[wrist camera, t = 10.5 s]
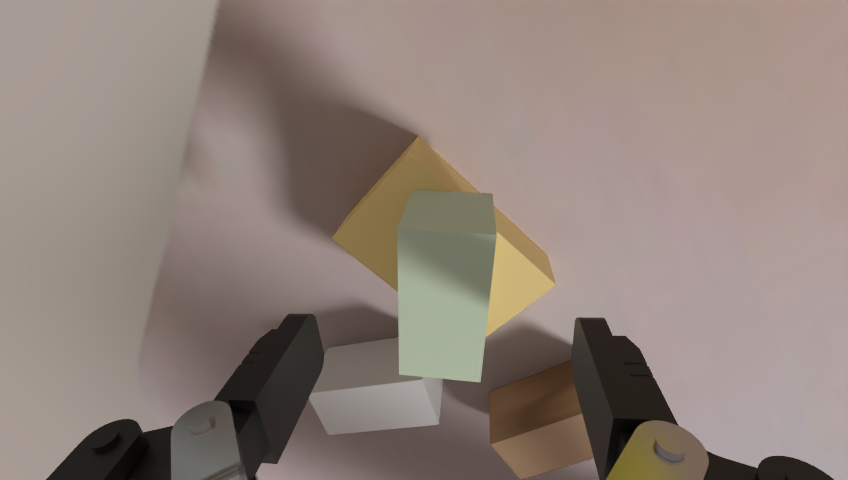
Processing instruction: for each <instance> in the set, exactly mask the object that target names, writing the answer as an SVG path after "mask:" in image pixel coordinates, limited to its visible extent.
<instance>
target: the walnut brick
mask: <svg viewBox="0 0 848 480" xmlns="http://www.w3.org/2000/svg"><path fill="white" fill-rule="evenodd" d="M489 412H490V444H491V446H492V447H493V448H494V449H495V451H496V452H497V453H498V454H499V455H500V456H501V458H502V459H503V460H504V461H505V462H506V463H507V465H508V466H509V467H510V468H511V469H512V470H513V472H514V473H515V474H516V475H517V476H518V478H519V479H520V480H521V479H525V478H528V477H531V476H535V475H538V474H542V473H545V472H548V471H552V470H555V469H558V468H562V467H565V466H568V465H572V464H575V463H578V462H582V461H585V460H589V459H592V458H594V456H593V452H592V449H591V445H590V441H589V437H588V434H587V430H586V426H585V422H584V419H583V415H582V411H581V407H580V404H579V400H578V396H577V392H576V389H575V385H574V381H573V376H572V366H571V360H569V361H567V362H564V363H562V364H559V365H557V366H554V367H552V368H549V369H546V370H544V371H541V372H539V373H536V374H534V375H531V376H529V377H526V378H524V379H521V380H518V381H516V382H513V383H511V384H508V385H506V386H503V387H501V388H498V389H495V390H493V391H490V392H489Z"/></svg>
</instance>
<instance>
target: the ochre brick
mask: <svg viewBox="0 0 848 480" xmlns="http://www.w3.org/2000/svg"><path fill="white" fill-rule="evenodd" d="M412 189H418V190H436V191H455V192H473V193H480V192H479V191H478V190H476V189H475V188H474V187H473V186H472V185H471V184H470V183H469V182H468V181H467V180H466V179H465V178H463V177H462V176H461V175H460V174H459V173H458V172H457V171H456V170H455V169H454V168H453V167H452V166H450V165H449V164H448V163H447V162H446V161H445V160H444V159H443V158H442V157H441V156H440V155H439V154H437V153H436V152H435V151H434V150H433V149H432V148H431V147H430V146H429V145H428V144H427V143H426V142H424V141H423V140H422V139H421V138H420V137H419V136H417V138H416V139H415V140H414V141H413V142H412V143H411V144H410V145H409V147H408V148H407V149H406V150H405V151H404V152H403V153H402V154H401V156H400V157H399V158H398V159H397V160H396V161H395V162H394V163H393V165H392V166H391V167H390V168H389V169H388V170H387V171H386V172H385V174H384V175H383V176H382V177H381V178H380V179H379V180H378V181H377V183H376V184H375V185H374V186H373V187H372V188H371V189H370V190H369V192H368V193H367V194H366V195H365V196H364V197H363V198H362V199H361V201H360V202H359V203H358V204H357V205H356V206H355V207H354V208H353V210H352V211H351V212H350V213H349V214H348V216H347V217H346V218H345V220H344V221H343V223H342V224H341V226H340V227H339V228H338V230H337V231H336V233H335V234H334V236H333V237H332V238H331V239H332V240H333V241H335V242H336V243H337V244H338V245H340V246H341V247H342V248H343V249H345V250H346V251H347V252H348V253H350V254H351V255H352V256H353V257H355V258H356V259H357V260H358V261H360V262H361V263H362V264H363V265H365V266H366V267H367V268H369V269H370V270H371V271H372V272H374V273H375V274H376V275H377V276H379V277H380V278H381V279H382V280H384V281H385V282H386V283H387V284H389V285H390V286H391V287H392V288H394V289H395V290H396V291H397V292H398V253H397V228H398V225H399V223H400V220H401V218H402V215H403V212H404V210H405V207H406V205H407V202H408V200H409V197H410V195H411V192H412ZM494 214H495V223H496V233H497V237H496V246H495V256H494V265H493V274H492V283H491V292H490V301H489V310H488V319H487V328H486V337H487V336H488V335H489V334H491V333H492V332H494V331H495V330H496V329H498V328H499V327H500V326H502V325H503V324H504V323H506V322H507V321H508V320H510V319H511V318H512V317H514V316H515V315H516V314H518V313H519V312H521V311H522V310H523V309H525V308H526V307H527V306H529V305H530V304H531V303H533V302H534V301H535V300H537V299H538V298H539V297H541V296H542V295H543V294H545V293H546V292H547V291H549V290H550V289H552V288H553V287H554V286H556V283H555V279H554V276H553V273H552V270H551V266H550V263H549V260H548V257H547V254H546V253H545V252H544V251H543V250H541V249H540V248H539V247H538V246H537V245H536V244H535V243H534V242H533V241H532V240H531V239H530V238H528V237H527V236H526V235H525V234H524V233H523V232H522V231H521V230H520V229H519V228H518V227H517V226H515V225H514V224H513V223H512V222H511V221H510V220H509V219H508V218H507V217H506V216H505V215H504V214H502V213H501V212H500V211H499V210H498V209H497V208H496V207H495V206H494Z"/></svg>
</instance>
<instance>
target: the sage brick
mask: <svg viewBox="0 0 848 480" xmlns="http://www.w3.org/2000/svg"><path fill="white" fill-rule="evenodd" d="M496 237H497V233H496V223H495V214H494V205H493V195H492V194H491V193H473V192H455V191H436V190H418V189H412V192H411V195H410V197H409V200H408V202H407V205H406V207H405V210H404V212H403V215H402V218H401V220H400V223H399V225H398V228H397V253H398V331H399V375H408V376H419V377H429V378H440V379H450V380H460V381H471V382H481V373H482V364H483V355H484V346H485V337H486V328H487V319H488V310H489V301H490V292H491V283H492V274H493V265H494V256H495V246H496Z"/></svg>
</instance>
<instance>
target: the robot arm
mask: <svg viewBox="0 0 848 480" xmlns="http://www.w3.org/2000/svg"><path fill="white" fill-rule="evenodd" d="M323 363H324V351H323V347H322V343H321V338H320V334H319V330H318V326H317V321H316V318H315V316H314V315H313V314H288V315H287V316H286V318H285V319H284V320H283V322H282V323H281V325H280V326H279V327H278V329H272V330H271V331H269V332H268V333H267V334H265V335H264V336H263V337H261V338H260V339H259V340H258V341H257V342H256V344H255V345H254V346H253V348H252V349H251V350H250V352H249V355H247V356H246V357H245V358H244V360H243V361H242V364H241V365H239V367H238V368H237V369H236V371H235V372H234V373H233V375H232V376H231V377H230V379H229V380H228V381H227V383H226V384H225V385H224V387H223V388H222V389H221V391H220V392H219V394H218V395H217V396H216V398H215V399H214V400H213V401H209V402H205V403H202V404H199V405H197V406H195V407H193V408H192V409H190V410H189V411H187V412H186V413H185V414H183V415H182V416H181V417H180V418H179V419H178V420H177V422H176V423H175V425H174V426H170V427H166V428H161V429H157V430H152V431H148V432H144V433H143V432H142V430H141V428H140V426H139V424H138V423H137V422H136V421H134V420H131V419H122V420H117V421H114V422H111V423H109V424H106V425H104V426H102V427H100V428H99V429H97V430H95V431H94V432H92V433H91V434H89V435H88V436H87V437H86V438H85V439H84V440H83V441H82V442H81V443H80V444H79V445H78V446H77V447H76V448H75V449H74V450H73V451H72V452H71V453H70V455H68V457H67V458H66V459H65V460H64V461H63V462H62V463H61V464H60V465H59V466H58V467H57V469H56V470H55V471H54V472H53V473H52V474H51V475H50V476H49V477H48V478H47V479H46V480H258V478H257V475H256V472H257V470H258V468H259V466H260V465H261V463H272V464H277V463H278V461H279V459H280V457H281V455H282V452H283V450H284V448H285V446H286V444H287V442H288V440H289V438H290V436H291V434H292V432H293V430H294V428H295V425H296V423H297V421H298V419H299V417H300V415H301V413H302V411H303V409H304V407H305V405H306V403H307V400H308V398H309V396H310V394H311V392H312V390H313V388H314V386H315V384H316V382H317V380H318V378H319V376H320V373H321V371H322V368H323ZM571 366H572V376H573V381H574V385H575V389H576V392H577V396H578V400H579V404H580V407H581V411H582V415H583V419H584V422H585V426H586V430H587V434H588V437H589V441H590V445H591V449H592V452H593V456H594V460H595V464H596V467H597V471H598V475H599V479H600V480H834V479H832V478H831V477H830V476H829V475H827V474H826V473H824V472H823V471H821V470H820V469H818V468H816V467H814V466H812V465H810V464H808V463H806V462H803V461H801V460H798V459H795V458H791V457H786V456H771V457H768V458H765V459H764V460H762V461H761V463H760V464H759V466H758V468H755V467H752V466H748V465H745V464H742V463H738V462H735V461H732V460H729V459H725V458H722V457H719V456H717V455H714V454H712V453H710V452H708V451H706V450H705V448H704V446H703V445H702V444H701V442H700V441H699V440H698V439H697V438H696V437H695V436H694V435H692V434H691V433H690V432H688V431H687V430H685V429H684V428H682V427H680V426H678V424H677V422H676V420H675V418H674V416H673V414H672V412H671V410H670V408H669V406H668V404H667V402H666V400H665V398H664V396H663V394H662V392H661V390H660V388H659V386H658V384H657V382H656V381H655V379H654V378H653V375H652V373H651V371H650V369H649V367H648V366H647V363H646V361H645V359H644V357H643V355H642V353H641V351H640V349H639V348H638V347H637V346H636V345H635V344H634V343H632V342H631V341H630V340H629V339H628V338H627V337H626V336H612V333H611V331H610V329H609V327H608V324H607V322H606V320H605V319H604V318H576V320H575V328H574V338H573V348H572V359H571Z"/></svg>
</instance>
